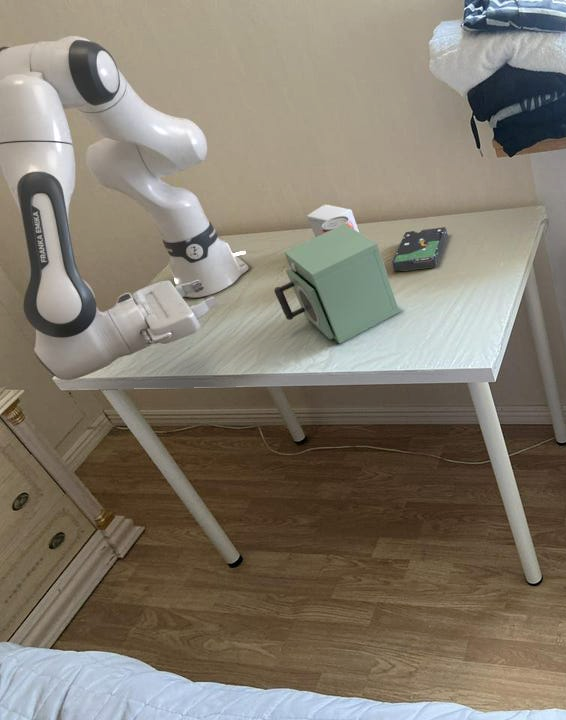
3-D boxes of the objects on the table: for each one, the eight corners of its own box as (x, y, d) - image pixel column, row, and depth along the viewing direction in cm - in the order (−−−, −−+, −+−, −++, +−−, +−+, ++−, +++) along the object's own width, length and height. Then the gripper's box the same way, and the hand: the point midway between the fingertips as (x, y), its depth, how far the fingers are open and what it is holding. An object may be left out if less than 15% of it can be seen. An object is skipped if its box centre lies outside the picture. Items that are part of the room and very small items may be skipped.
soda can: (363, 279, 158) (344, 228, 151) (334, 282, 160) (314, 231, 153) (372, 263, 164) (355, 213, 156) (344, 266, 166) (326, 216, 158)
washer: (338, 344, 138) (310, 275, 129) (309, 318, 149) (282, 252, 140) (399, 312, 143) (377, 243, 134) (367, 288, 154) (344, 223, 145)
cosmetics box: (319, 253, 174) (305, 215, 168) (338, 241, 178) (325, 203, 172) (346, 260, 168) (332, 220, 162) (365, 247, 172) (352, 208, 165)
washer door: (311, 349, 136) (290, 301, 130) (287, 324, 146) (267, 279, 139) (333, 337, 138) (314, 289, 131) (309, 314, 148) (289, 268, 141)
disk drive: (407, 242, 169) (394, 272, 158) (404, 231, 168) (390, 262, 156) (448, 236, 167) (438, 267, 155) (446, 226, 165) (435, 256, 154)
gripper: (138, 331, 118) (216, 295, 122) (118, 292, 133) (187, 261, 138) (156, 360, 121) (230, 324, 126) (134, 319, 136) (201, 289, 141)
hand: (208, 291), depth 132 cm, fingers open, 8 cm apart
